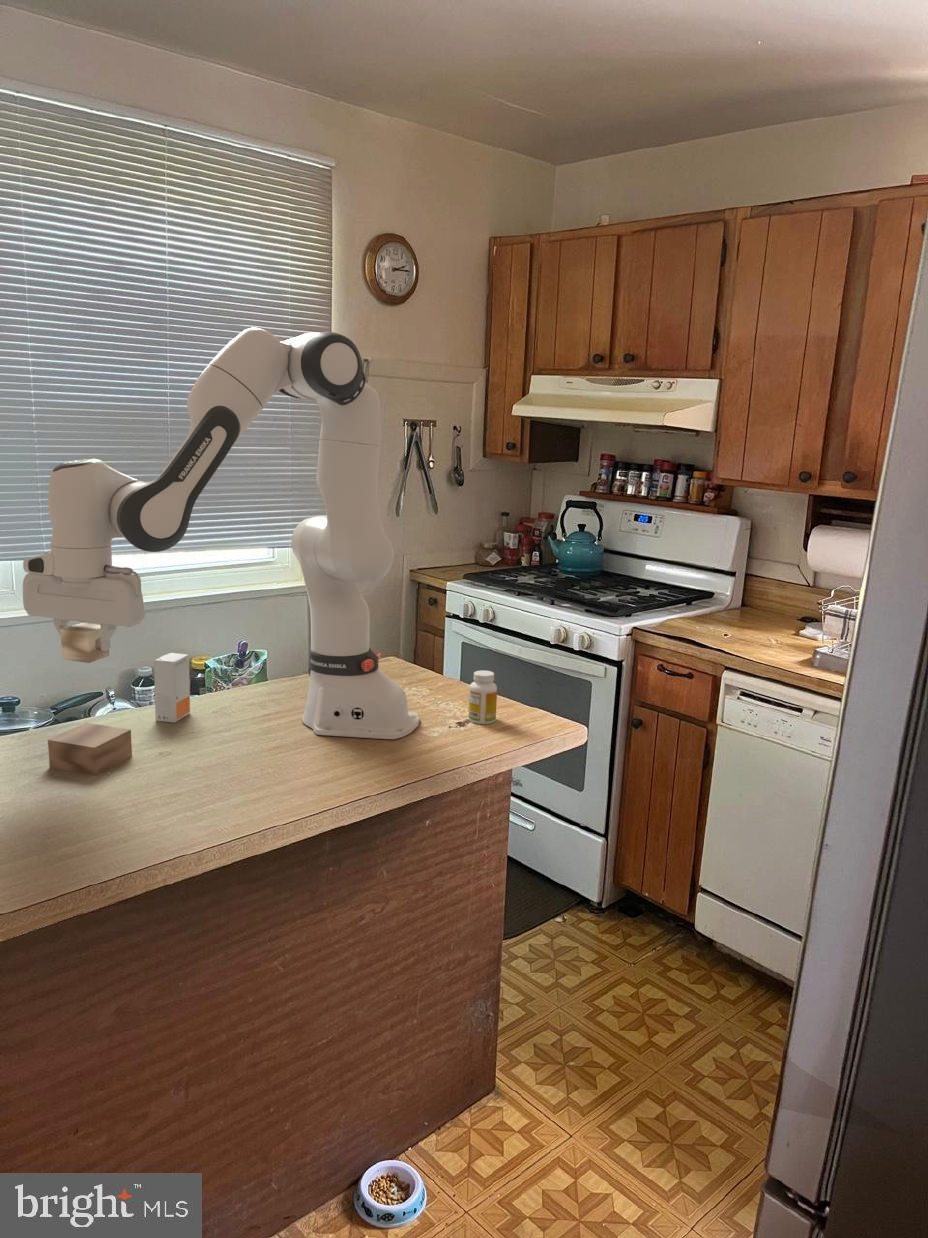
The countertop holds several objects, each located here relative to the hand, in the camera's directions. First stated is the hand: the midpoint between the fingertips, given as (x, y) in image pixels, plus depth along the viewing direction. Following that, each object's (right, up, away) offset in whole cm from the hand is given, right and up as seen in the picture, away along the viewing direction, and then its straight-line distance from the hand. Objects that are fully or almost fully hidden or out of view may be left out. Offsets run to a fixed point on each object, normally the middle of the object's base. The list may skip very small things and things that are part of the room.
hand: (85, 647), depth 144 cm
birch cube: (0, -2, 0) cm, 2 cm away
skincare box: (+5, -14, +27) cm, 31 cm away
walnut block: (-1, -19, +5) cm, 20 cm away
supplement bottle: (+65, -16, +32) cm, 74 cm away
